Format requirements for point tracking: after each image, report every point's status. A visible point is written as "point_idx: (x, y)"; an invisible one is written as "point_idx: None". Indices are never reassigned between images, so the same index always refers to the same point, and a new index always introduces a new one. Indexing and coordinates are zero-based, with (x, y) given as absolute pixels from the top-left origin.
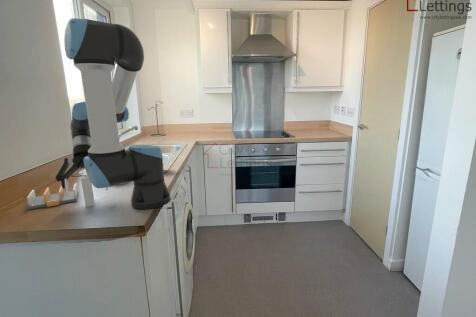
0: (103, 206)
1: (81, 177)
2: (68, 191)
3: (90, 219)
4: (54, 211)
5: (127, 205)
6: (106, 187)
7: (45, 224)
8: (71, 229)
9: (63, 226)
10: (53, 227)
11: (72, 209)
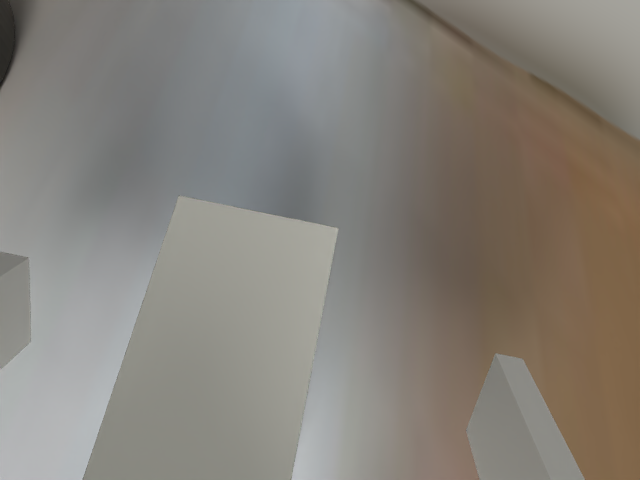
0: None
1: (307, 344)
2: (489, 455)
3: (321, 67)
4: None
5: (19, 117)
6: (17, 269)
7: (588, 190)
8: (435, 16)
9: (477, 82)
10: (532, 108)
11: (415, 367)
